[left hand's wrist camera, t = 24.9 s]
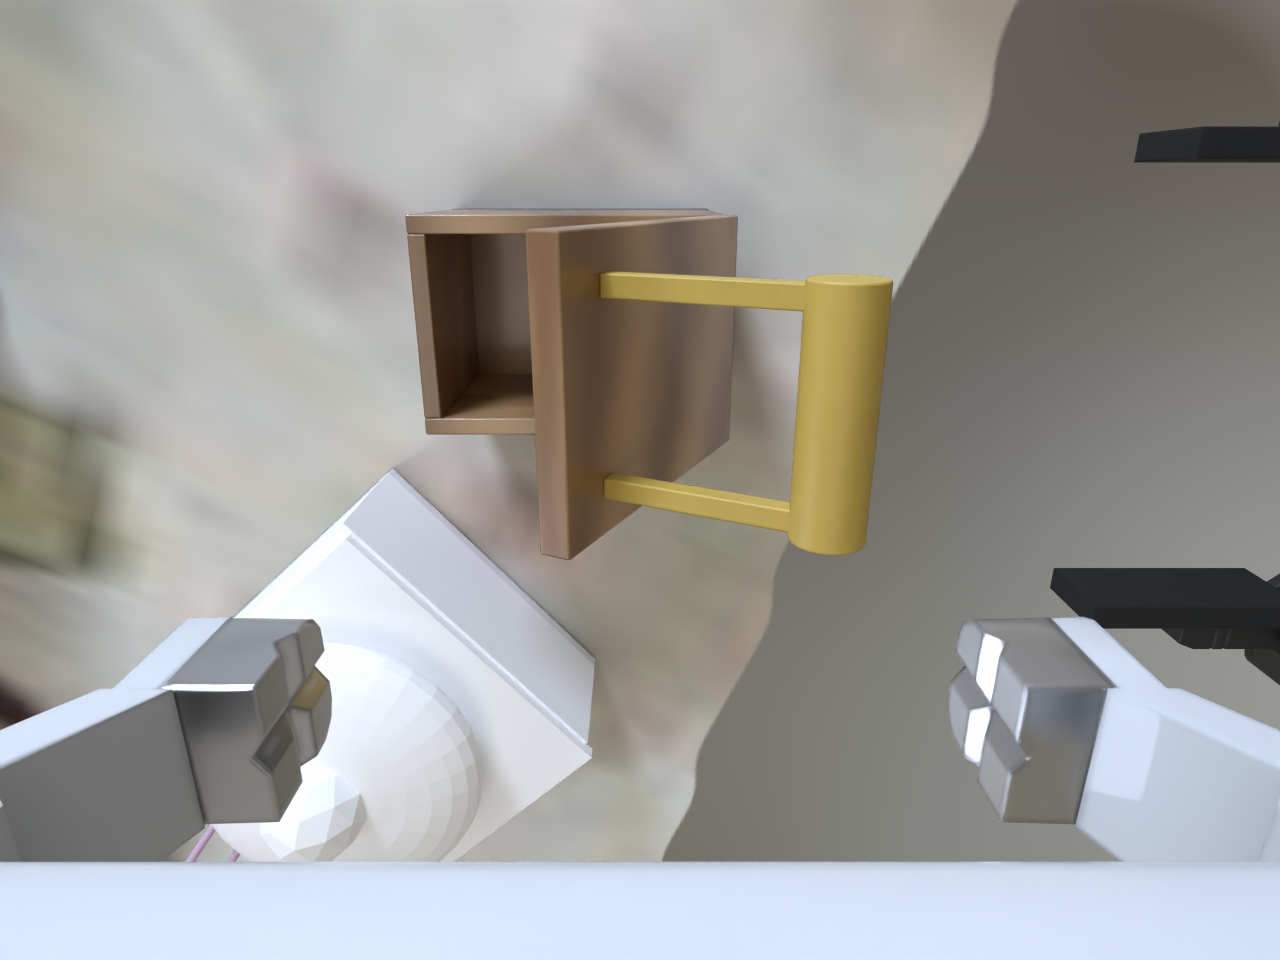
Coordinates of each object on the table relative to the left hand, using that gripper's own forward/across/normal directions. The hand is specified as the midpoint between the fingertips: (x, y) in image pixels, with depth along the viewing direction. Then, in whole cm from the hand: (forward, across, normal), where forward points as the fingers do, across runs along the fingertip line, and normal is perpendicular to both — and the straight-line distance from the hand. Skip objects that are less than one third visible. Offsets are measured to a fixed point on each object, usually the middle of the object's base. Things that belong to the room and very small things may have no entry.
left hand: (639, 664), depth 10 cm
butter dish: (+36, +15, +22) cm, 44 cm away
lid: (+19, 0, 0) cm, 19 cm away
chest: (+36, +3, 0) cm, 36 cm away
